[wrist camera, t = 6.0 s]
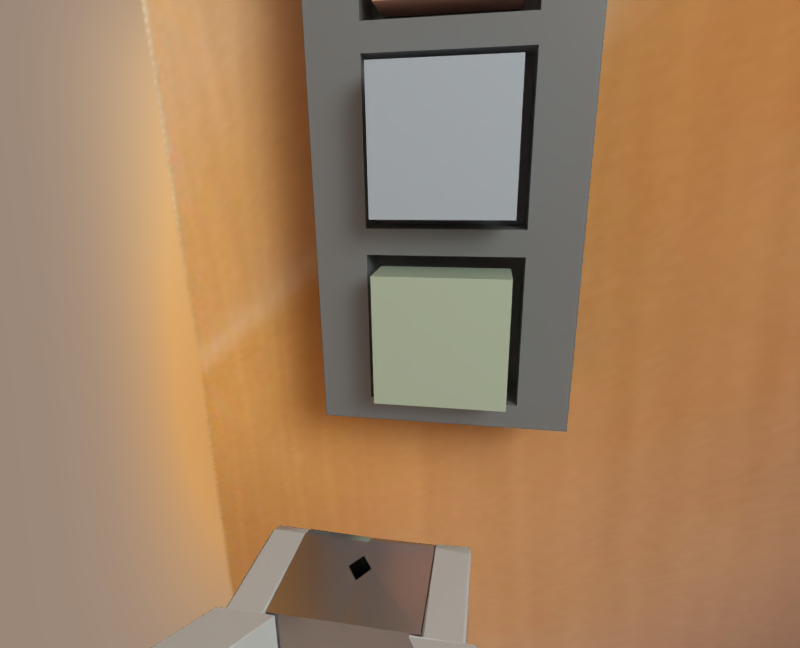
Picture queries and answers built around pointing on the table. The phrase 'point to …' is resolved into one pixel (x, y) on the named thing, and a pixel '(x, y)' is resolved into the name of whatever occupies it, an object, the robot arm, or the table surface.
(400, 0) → the terracotta key
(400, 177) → the light grey key
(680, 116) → the table surface
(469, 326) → the sage key
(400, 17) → the keypad
